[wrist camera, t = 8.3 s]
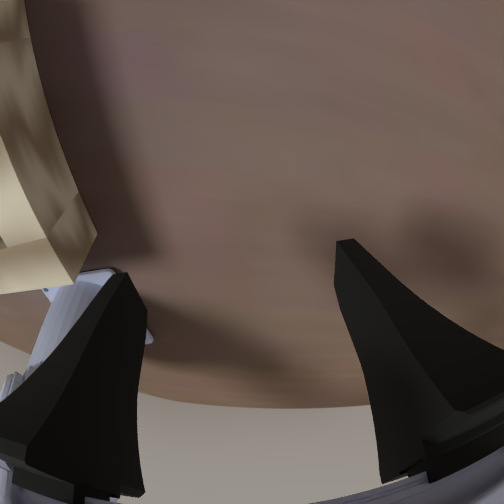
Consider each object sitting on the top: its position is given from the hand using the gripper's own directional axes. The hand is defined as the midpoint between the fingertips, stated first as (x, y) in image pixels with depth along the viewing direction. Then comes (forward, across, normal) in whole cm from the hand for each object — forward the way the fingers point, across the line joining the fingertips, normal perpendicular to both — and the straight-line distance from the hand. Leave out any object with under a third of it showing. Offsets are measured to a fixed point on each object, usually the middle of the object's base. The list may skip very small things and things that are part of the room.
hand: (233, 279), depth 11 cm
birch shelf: (+9, +19, -6) cm, 22 cm away
